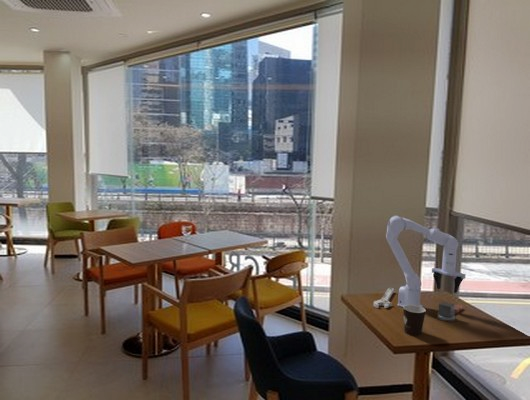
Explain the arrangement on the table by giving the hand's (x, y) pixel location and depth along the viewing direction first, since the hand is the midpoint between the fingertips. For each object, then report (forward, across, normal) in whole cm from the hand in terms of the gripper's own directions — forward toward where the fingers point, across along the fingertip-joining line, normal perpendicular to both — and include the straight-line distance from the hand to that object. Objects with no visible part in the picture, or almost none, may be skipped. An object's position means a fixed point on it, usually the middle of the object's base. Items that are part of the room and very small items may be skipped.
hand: (447, 290), depth 193 cm
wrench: (+8, -23, -6) cm, 26 cm away
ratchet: (+10, +4, -3) cm, 11 cm away
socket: (+8, +4, -10) cm, 14 cm away
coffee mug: (+10, -1, -34) cm, 36 cm away
